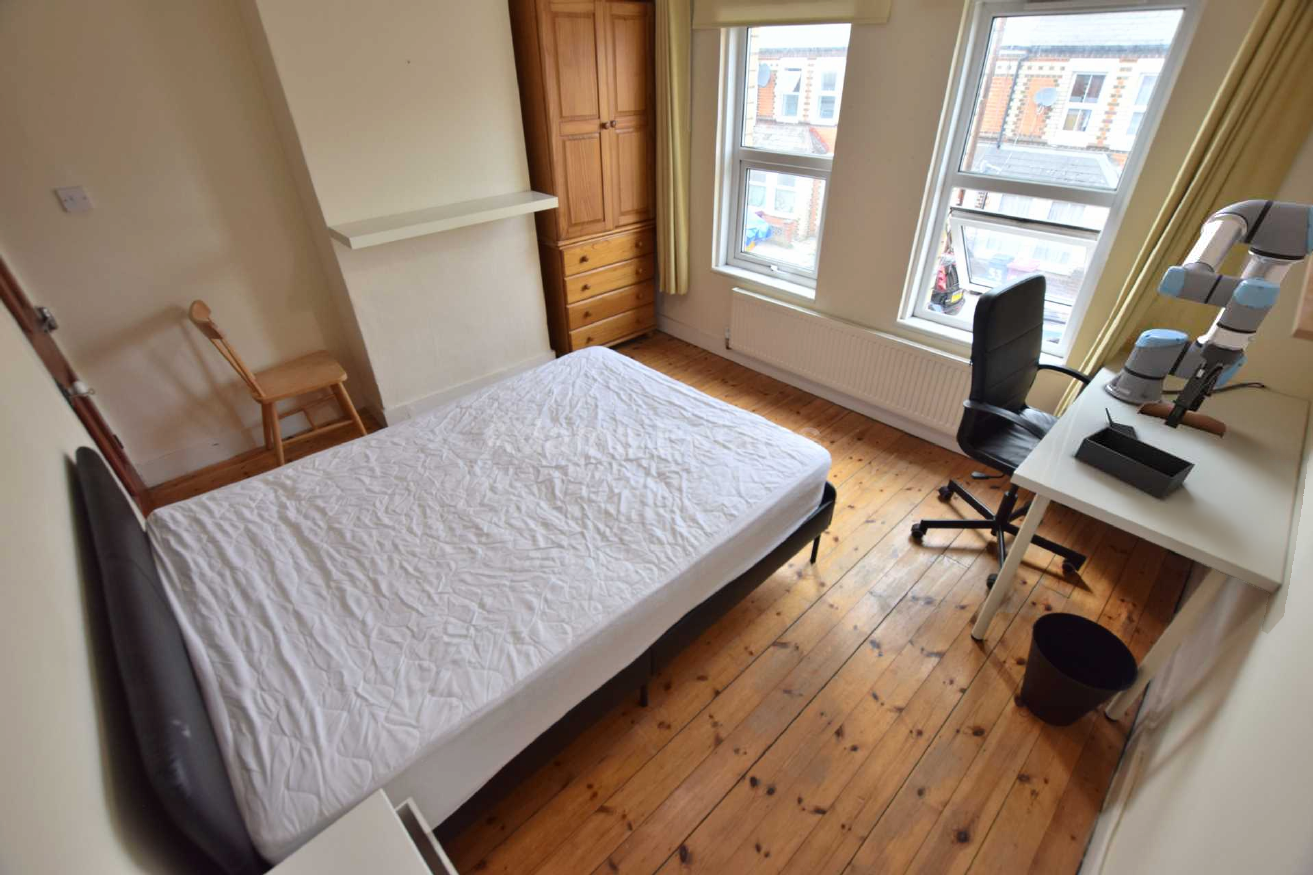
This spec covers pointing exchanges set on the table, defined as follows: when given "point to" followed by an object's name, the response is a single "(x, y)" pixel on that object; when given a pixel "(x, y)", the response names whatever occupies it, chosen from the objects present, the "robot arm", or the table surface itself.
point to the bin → (1134, 461)
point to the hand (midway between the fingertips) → (1178, 421)
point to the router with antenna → (1121, 427)
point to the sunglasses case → (1185, 418)
